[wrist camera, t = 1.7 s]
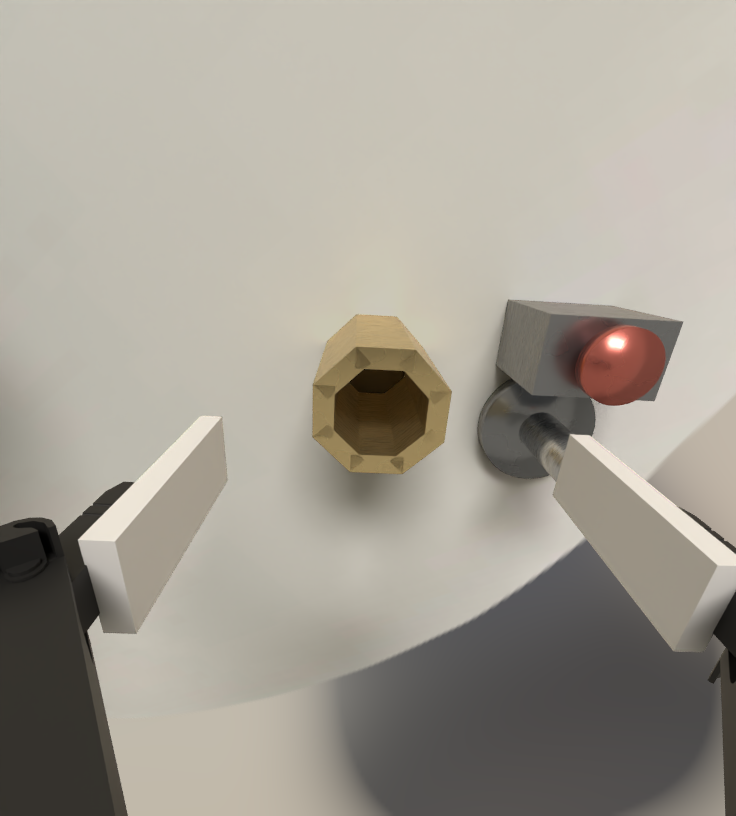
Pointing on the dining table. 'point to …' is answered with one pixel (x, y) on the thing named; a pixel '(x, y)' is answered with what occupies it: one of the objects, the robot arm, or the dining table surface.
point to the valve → (567, 377)
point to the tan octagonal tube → (378, 398)
